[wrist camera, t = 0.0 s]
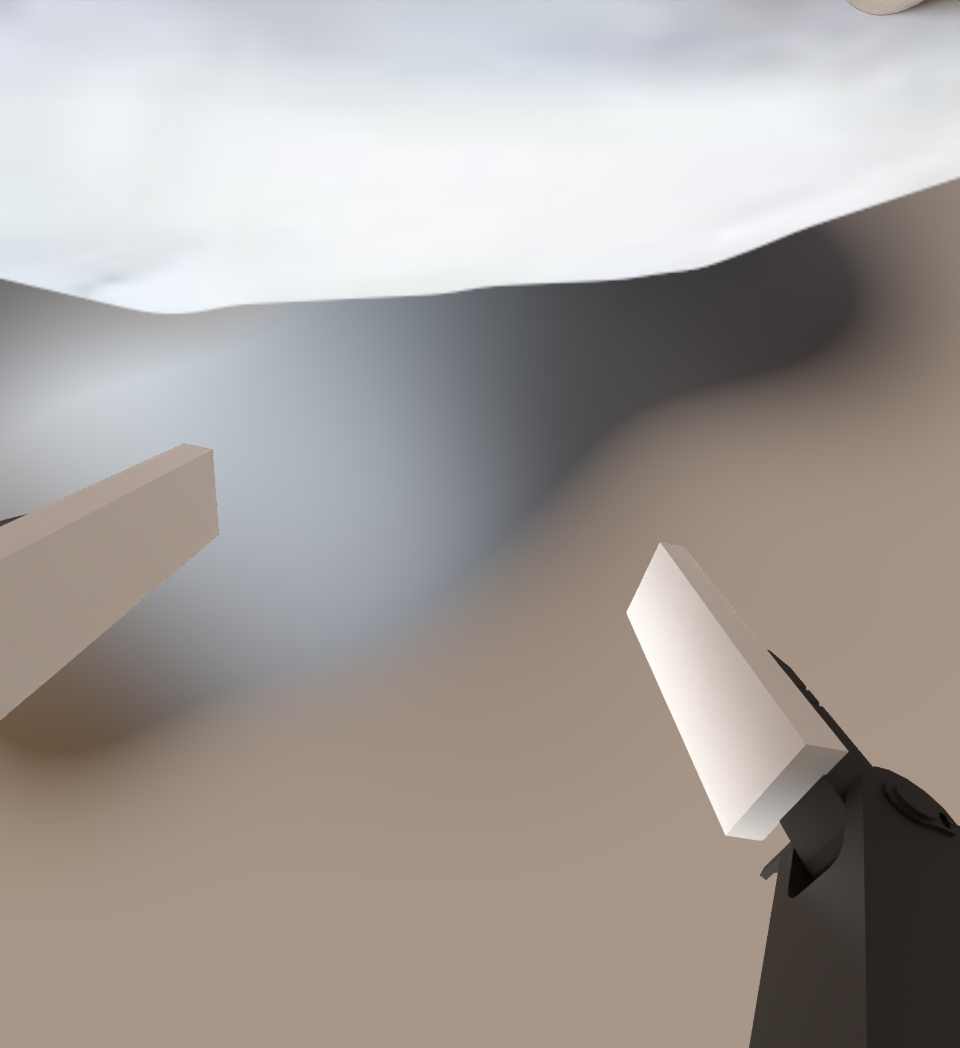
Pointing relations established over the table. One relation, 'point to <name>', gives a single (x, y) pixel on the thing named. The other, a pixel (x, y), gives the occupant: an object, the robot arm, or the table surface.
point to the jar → (883, 6)
